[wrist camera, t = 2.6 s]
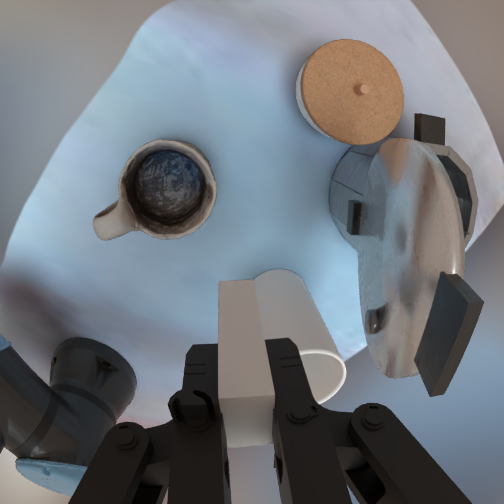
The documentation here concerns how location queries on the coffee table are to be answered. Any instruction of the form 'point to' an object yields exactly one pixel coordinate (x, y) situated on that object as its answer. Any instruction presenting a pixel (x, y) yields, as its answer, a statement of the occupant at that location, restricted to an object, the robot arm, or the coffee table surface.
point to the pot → (358, 164)
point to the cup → (300, 329)
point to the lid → (414, 267)
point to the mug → (161, 193)
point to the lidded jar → (350, 92)
